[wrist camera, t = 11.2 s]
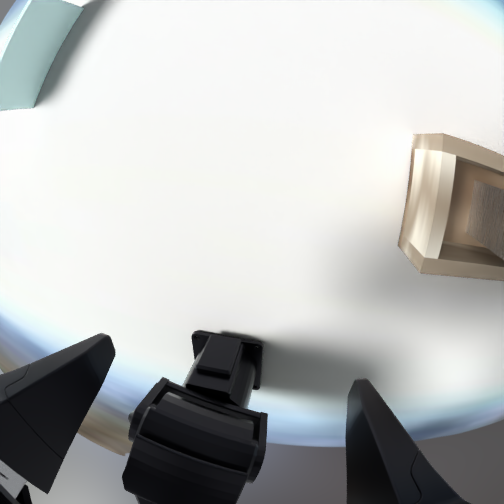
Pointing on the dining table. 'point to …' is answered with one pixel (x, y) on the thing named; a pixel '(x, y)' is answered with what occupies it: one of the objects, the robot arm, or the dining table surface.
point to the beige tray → (448, 207)
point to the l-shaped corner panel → (33, 50)
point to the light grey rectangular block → (487, 217)
